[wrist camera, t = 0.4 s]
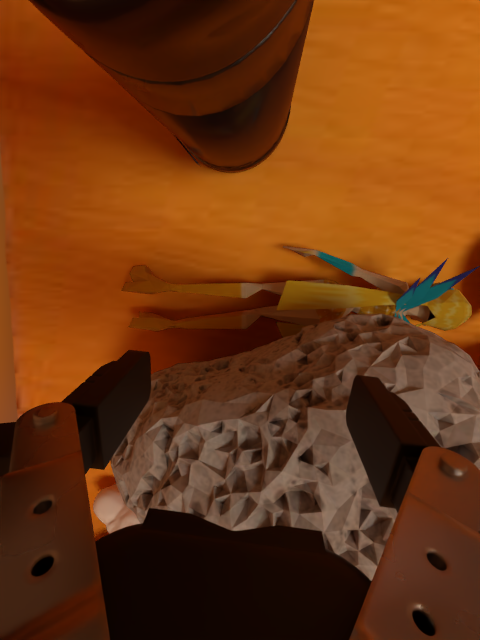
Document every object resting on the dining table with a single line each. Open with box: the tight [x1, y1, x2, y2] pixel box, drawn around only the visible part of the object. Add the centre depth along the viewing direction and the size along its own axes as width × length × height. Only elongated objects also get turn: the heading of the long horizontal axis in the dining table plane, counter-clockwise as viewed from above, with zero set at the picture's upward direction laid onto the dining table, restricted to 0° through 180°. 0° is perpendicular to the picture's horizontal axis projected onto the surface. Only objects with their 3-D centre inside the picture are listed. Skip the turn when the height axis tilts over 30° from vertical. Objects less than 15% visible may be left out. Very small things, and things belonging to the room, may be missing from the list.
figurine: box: [121, 246, 480, 338], centre depth 25 cm, size 11×8×30 cm
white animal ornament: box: [93, 484, 141, 534], centre depth 36 cm, size 6×8×12 cm
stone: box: [111, 314, 480, 581], centre depth 22 cm, size 23×23×15 cm
